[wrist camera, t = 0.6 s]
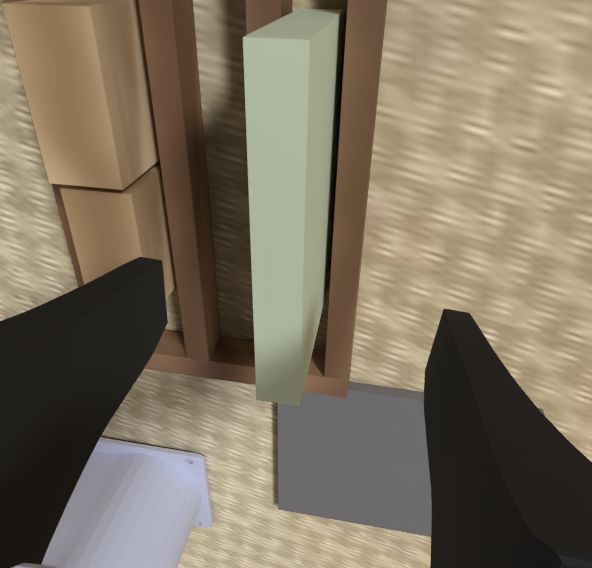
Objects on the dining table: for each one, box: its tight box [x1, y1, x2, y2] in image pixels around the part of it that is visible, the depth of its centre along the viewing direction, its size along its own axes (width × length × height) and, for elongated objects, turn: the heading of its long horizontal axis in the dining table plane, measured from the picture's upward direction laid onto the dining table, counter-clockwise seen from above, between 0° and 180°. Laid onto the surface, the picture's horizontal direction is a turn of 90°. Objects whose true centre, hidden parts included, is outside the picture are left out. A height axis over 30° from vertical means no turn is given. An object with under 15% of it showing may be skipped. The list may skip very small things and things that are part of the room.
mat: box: [277, 382, 545, 537], centre depth 30 cm, size 14×12×1 cm
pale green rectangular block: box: [243, 8, 344, 406], centre depth 18 cm, size 2×12×8 cm, turn 179°
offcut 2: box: [60, 160, 177, 300], centre depth 23 cm, size 3×6×4 cm, turn 179°
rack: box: [4, 0, 387, 398], centre depth 21 cm, size 14×22×2 cm, turn 179°
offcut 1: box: [2, 0, 160, 190], centre depth 19 cm, size 3×6×4 cm, turn 179°
